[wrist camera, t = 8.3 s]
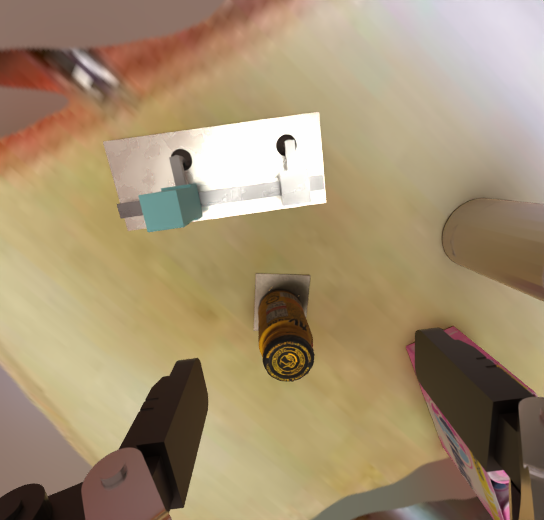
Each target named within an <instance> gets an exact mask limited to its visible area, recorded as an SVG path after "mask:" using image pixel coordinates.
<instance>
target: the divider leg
mask: <svg viewBox="0 0 544 520" xmlns="http://www.w3.org/2000/svg"><path fill="white" fill-rule="evenodd" d="M169 159H170V164H171V168H172V173H173V177H174V182H175V186H173V187H166V188H161V192H155V193H149V194H143V195H138V197H139V200H140V204H141V208H142V212H143V216H144V220H145V223H146V227H147V231H148V232H153V231H160V230H167V229H174V228H181V227H185V226H186V225H188V224H189V223H190V222H192V221H195V220H199V219H200V218H201V217H203V214H202V209H201V204H200V199H199V194H198V189H197V184H196V183H195V184H187V182H186V177H185V172H184V168H183V163H184V162H185V159H184V157H182V156H179V155H174V156H173V157H169Z"/></svg>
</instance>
